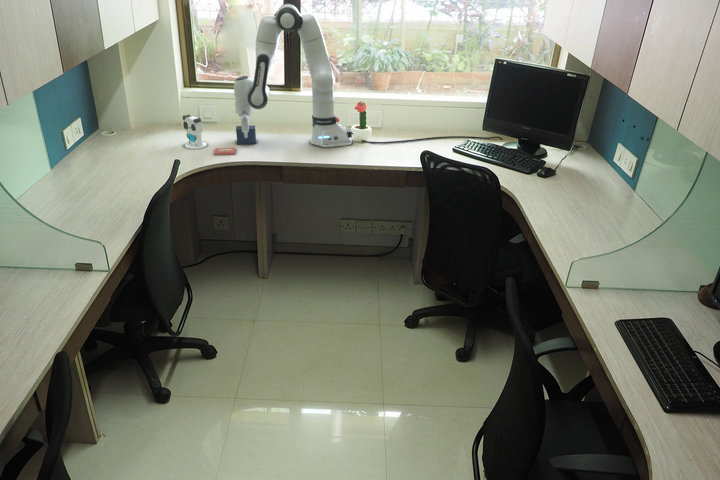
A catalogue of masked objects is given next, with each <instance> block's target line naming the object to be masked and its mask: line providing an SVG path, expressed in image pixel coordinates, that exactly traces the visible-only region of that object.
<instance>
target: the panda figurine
mask: <svg viewBox="0 0 720 480" xmlns="http://www.w3.org/2000/svg"><path fill="white" fill-rule="evenodd" d="M182 121H183V129H184V130H185V133H186V137H187V139H188V142H187V143H185V144H184V147H185V148H186V149H188V150H189V149H190V150H199V149H203V148H206V147H207V144H208V143H207V142H205V141H203V139H202V133H203V125H202V119H201V117H196V116H193V115H192V116H191V115H190V114H184V115H182Z"/></svg>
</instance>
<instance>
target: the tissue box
mask: <svg viewBox="0 0 720 480" xmlns="http://www.w3.org/2000/svg"><path fill="white" fill-rule="evenodd" d="M235 132H236V133H235V134H236V144H237V145H256V144H257V133H256V125H249V132H248V138H245V137H244V132H242V128H241V125H236V126H235Z"/></svg>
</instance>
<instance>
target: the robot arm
mask: <svg viewBox="0 0 720 480" xmlns="http://www.w3.org/2000/svg"><path fill="white" fill-rule="evenodd" d="M283 31H284V32H290V33H291V32H295V33H298V35H299V36H298V37H299V39H300V43H301V46H302V49H303V53H304V56H305V59H306V63H307V66H308V71H309V74H310V77H311V93H312V95H311V96H312V98H311V99H312V115H311V126H312V129H311V137H310V141H309V143H310V144H312V145H315V146H318V147H322V148H334V147H343V146H344V147H345V146H351V145H352V144H353V139H352V137H353V133H354V132H352V129H346V127H345V126H343V125H342V124H341V123H339V122H340V118H339V117H338V116H337V115H336V114H335V99H334V97H335V95H334V85H335V80H336V79H335V74H334V72H333V68H332V64H331V61H330V57H329V53H328V50H327V49H328V48H327V46H326V41H325V39H324V35H323V31H322V28H321V27H320V23H319V21H318V19H317V17H316V16H315V15H314V14H311V13H306V14H301V13H300V11H299V9H298V7H297V6H296V5H295V4H292V3H287V2H286V3H284V4H282V5H281V6H280V7H279V8H278V9H277V11H276V12H275V13H274V15H273V16H271V15H266V16H263V17H262V18H261V19H260V21H259V24H258V27H257V31H256V38H255V71H254V77H253V79H252V78H251V77H250V76H248V75H244V76H239V77H237V78H236V79H235V80H234V82H233V94H234V98H235V102H234V104H235V113H236V114H237V115H238V117H240V126H241V128H242V132H244V137H245V138H248V132H249V126H250V117H251V115H252V114H253V113H254V110H262V109H264V108H265V107H266V106H267V105H268V101H269V98H270V95H271V90H270V87H269V86H268V85H267V82H268V75H269V71H270V68H271V66H272V63H273V62H274V60H275V57H276V55H277V52H278V49H279V42H280V36H281V33H282V32H283ZM453 138H457V139H458V138H459V139H462V138H463V139H464V138H465V139H481V140H491V139H499V140H501V141H504V138H503V137H501V136H498V135H497V136H496V135H495V136H488V137H485V136H470V135H469V136H468V135H467V136H466V135H449V136H432V137H423V138H415V139H414V138H413V139H406V140H404V139H403V140H394V141H391V140H390V141H367V140H364V139H363V140H361V142H363V143H368V144H397V143H407V142H415V141H425V140H434V139H453Z"/></svg>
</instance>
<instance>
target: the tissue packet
mask: <svg viewBox="0 0 720 480" xmlns="http://www.w3.org/2000/svg"><path fill="white" fill-rule="evenodd" d="M235 154H236V147H215V148H214V156H226V155H229V156H230V155H235Z"/></svg>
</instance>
